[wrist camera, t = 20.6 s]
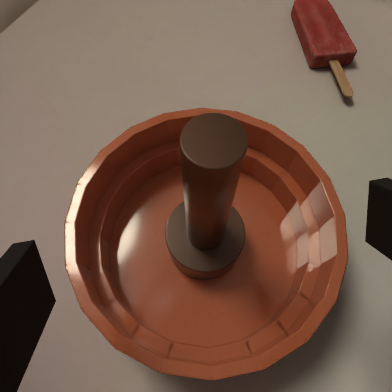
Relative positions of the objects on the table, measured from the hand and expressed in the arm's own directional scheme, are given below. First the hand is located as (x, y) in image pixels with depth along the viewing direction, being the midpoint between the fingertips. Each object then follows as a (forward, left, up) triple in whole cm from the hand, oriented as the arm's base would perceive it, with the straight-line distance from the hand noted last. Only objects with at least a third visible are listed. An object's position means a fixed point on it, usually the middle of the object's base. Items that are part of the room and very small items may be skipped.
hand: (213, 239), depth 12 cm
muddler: (+1, +3, -12) cm, 12 cm away
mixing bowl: (+1, +3, -13) cm, 13 cm away
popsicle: (+18, +22, -13) cm, 31 cm away
